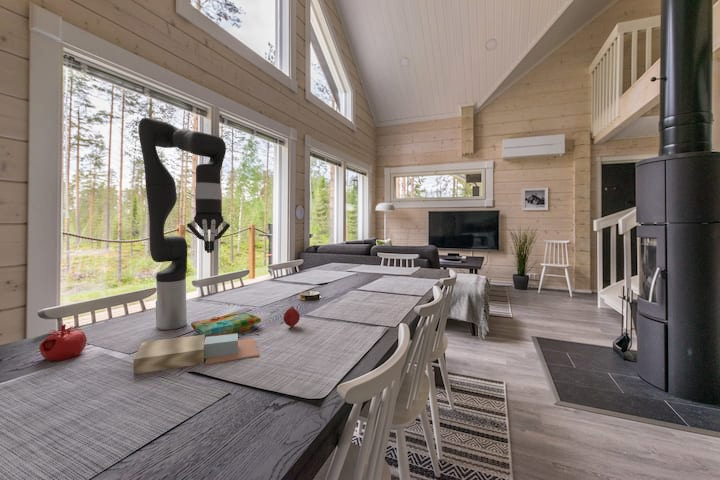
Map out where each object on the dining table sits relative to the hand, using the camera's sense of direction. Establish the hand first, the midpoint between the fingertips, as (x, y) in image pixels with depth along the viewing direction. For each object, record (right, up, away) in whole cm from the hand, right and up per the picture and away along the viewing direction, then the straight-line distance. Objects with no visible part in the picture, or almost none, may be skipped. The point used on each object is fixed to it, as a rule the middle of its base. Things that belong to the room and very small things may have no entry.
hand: (209, 252), depth 101 cm
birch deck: (-5, -30, -12) cm, 32 cm away
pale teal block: (+7, -27, -8) cm, 29 cm away
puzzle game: (+1, -29, +12) cm, 31 cm away
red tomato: (-36, -30, -11) cm, 48 cm away
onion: (+23, -29, +16) cm, 40 cm away
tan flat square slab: (+9, -30, -6) cm, 32 cm away
